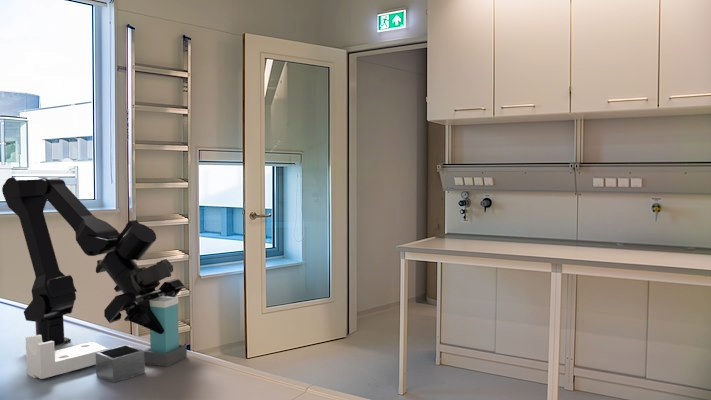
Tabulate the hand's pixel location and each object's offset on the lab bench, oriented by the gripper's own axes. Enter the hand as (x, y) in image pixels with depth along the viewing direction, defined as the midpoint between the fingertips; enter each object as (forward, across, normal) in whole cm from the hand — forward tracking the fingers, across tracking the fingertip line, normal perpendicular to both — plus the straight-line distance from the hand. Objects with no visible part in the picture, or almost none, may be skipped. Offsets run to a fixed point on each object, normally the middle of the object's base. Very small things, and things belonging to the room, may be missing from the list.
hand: (169, 329), depth 118 cm
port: (+2, -10, +8) cm, 12 cm away
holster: (+4, 0, +6) cm, 7 cm away
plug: (+4, 0, +6) cm, 7 cm away
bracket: (-7, -11, +17) cm, 21 cm away
